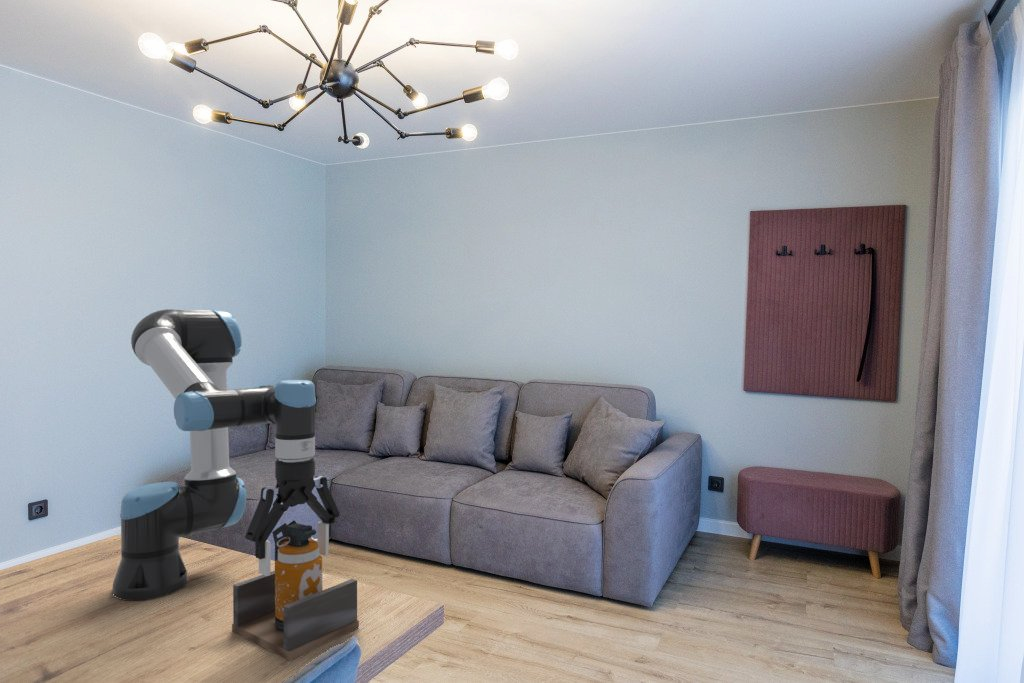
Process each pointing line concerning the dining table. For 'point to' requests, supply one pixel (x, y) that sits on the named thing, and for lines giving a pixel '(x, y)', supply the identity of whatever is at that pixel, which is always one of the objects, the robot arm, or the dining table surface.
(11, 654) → the dining table surface
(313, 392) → the robot arm
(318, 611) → the holder
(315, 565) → the canister
